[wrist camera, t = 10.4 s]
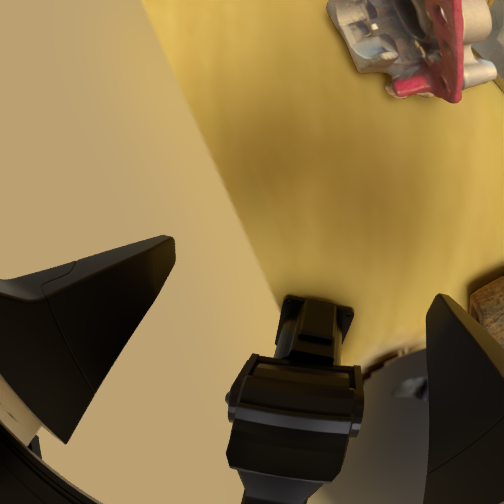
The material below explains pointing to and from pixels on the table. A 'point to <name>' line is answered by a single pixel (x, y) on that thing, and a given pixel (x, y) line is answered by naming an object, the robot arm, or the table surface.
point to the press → (494, 42)
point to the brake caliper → (417, 43)
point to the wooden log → (490, 308)
